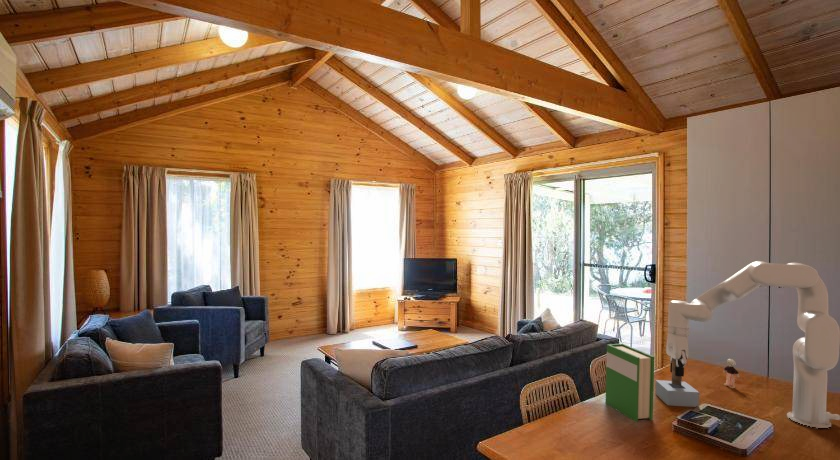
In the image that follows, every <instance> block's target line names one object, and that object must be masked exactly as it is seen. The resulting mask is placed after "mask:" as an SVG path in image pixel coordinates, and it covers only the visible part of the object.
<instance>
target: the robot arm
mask: <svg viewBox="0 0 840 460" xmlns="http://www.w3.org/2000/svg"><path fill="white" fill-rule="evenodd" d="M761 286H769V287H770V286H771V287H778V288H782V287H783V288H794V289H796V292H797V298H798V299H797V301H798V304H797V317H796V323H797V327H798V328H799V329H800V330H801V331H802V332H804V336H803V337H799V338H798V339H797V340H796V341H794V343H793V346H792V359H793V383H792V411H788V412H787V413H786V417H787V419H789V418H790V419H791V420H793V421H795V422H798V423H800V424H799V425H801V424H803V425H802V426H804V425H807V426H806V427H808V426H810V427H809V428H812V427H816V428H815V429H818V428H828V427H831V428H832V423H831V422H830V421H832V420H835V421H840V414H837V413H831V412H830V411H827V397H828V393H827V392H828V371H830V370H832V369H834V368H835V367H836V366H837V365H838V362H839V358H840V325H839V324H838V322H837V320H836V319H835V318H834V317H833V316H831V315H829V313H830V312H829V293H828V288H827V285H826V284H825V282H824V281H823V280H822V278H821V276H819V272H818V271H817V269H815V268H814V267H812V266H811V265H808V264H804V263H800V262H788V263H785V264H784V263H773V262H766V261H762V260H756V261H753V262H751V263H749V264H747V265H746V266H744V267H743V268H741V269H740V270H738V271H737V272H736V273H734V274H733V275H731V276H730V277H727V278H726V280H724V281H722V282H720V283H718V284H717V285H715V286H713V287H711V288H710V289H708V290H706V291H705V292H703V293H702V294H700V295H699V296H698V297H696V298H695V299H693V300H691V302H690V303H689V302H688V301H685V300H678V299H677V300H675V299H673V300H670V301H668V302H669V303H668V315H667V316H668V320H667V337H666V345H665V346H666V347H665V348H666V349H665V353H666V354H667V355H668V356H669V358H670V359H669V362H670V372H671V373H672V358H674V359H675V360H676V366H675V376H682V377H684V376H685V374H684V373H685V366H686V364H687V363H688V362H687V360H688V359H689V338H688V336H689V335H690V334H689V333H690V321H694V322H699V323H705V322H709V321H710V320H711V319H712V318H713V315H714V313H713V310H715V309H716V308H718V307H720V306H722V305H725V304H726V303H729V302H735V301H738V300H742V299H743V298H744V297H746V296H747V295H749V294H750V293H752V292H753V291H754V290H757V289H758V288H759V287H761ZM679 358H682V359H679ZM679 361H681V362H679ZM790 419H789V420H790ZM791 420H790V421H791ZM793 421H792V422H793ZM795 422H794V423H795ZM798 423H797V424H798ZM828 429H829V428H828Z"/></svg>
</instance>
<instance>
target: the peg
mask: <svg viewBox="0 0 840 460" xmlns="http://www.w3.org/2000/svg"><path fill="white" fill-rule="evenodd" d="M679 359H682V358H679ZM679 362H681V361H679ZM675 366H676V360H675V359H674V358H672V372H671V381H672V384H674V385H681V384H682V379H683V376H675Z"/></svg>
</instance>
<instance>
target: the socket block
mask: <svg viewBox="0 0 840 460" xmlns="http://www.w3.org/2000/svg"><path fill="white" fill-rule="evenodd" d="M654 387H655V388H654V390H655V391H654V392H655V393H654V394H655V395H656V396H657V397H658V399H660V400H661V401H663V403H664V404H666V406H674V407H675V406H676V407H688V408H689V407H692V408H693V407H694V408H697V407H696V406H699V407H700V392H699V391H698V390H697V389H696V388H694V386H692V385H690V384H689V383H687V382H686V381H682V384H681V385H674V384H672V380H663V379H660V380H659V379H656V380H655V383H654Z"/></svg>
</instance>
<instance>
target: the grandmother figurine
mask: <svg viewBox="0 0 840 460" xmlns="http://www.w3.org/2000/svg"><path fill="white" fill-rule="evenodd" d="M726 362H727V365H726V366H725V368H724V369H723V371H722V373H723V374H726V377H725V379H726V380H725V383H723V386H725V387H728V388H730V389H734V388H736V387H735V382H736V381H735V379H736V378H738V379H739V378H740V372H739V371H738V370H737V369H736V368H735V367H734V366H736V365H737V363H736V361H735V360H734V359H733V358H728V359H727V360H726ZM735 376H736V378H735Z"/></svg>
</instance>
